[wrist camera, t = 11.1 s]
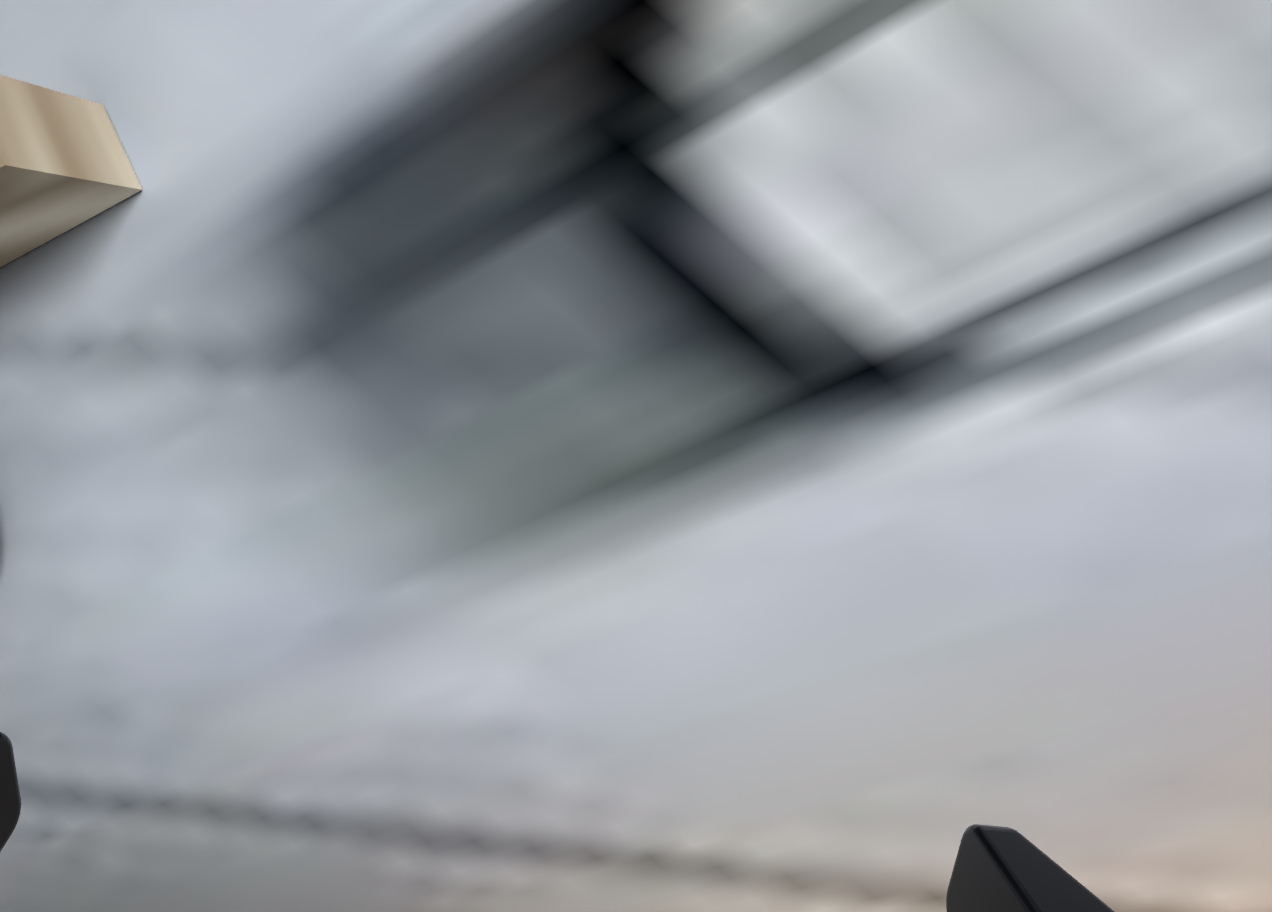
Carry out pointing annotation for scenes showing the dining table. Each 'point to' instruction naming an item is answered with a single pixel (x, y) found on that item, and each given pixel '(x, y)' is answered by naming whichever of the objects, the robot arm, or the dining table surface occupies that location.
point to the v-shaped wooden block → (54, 165)
